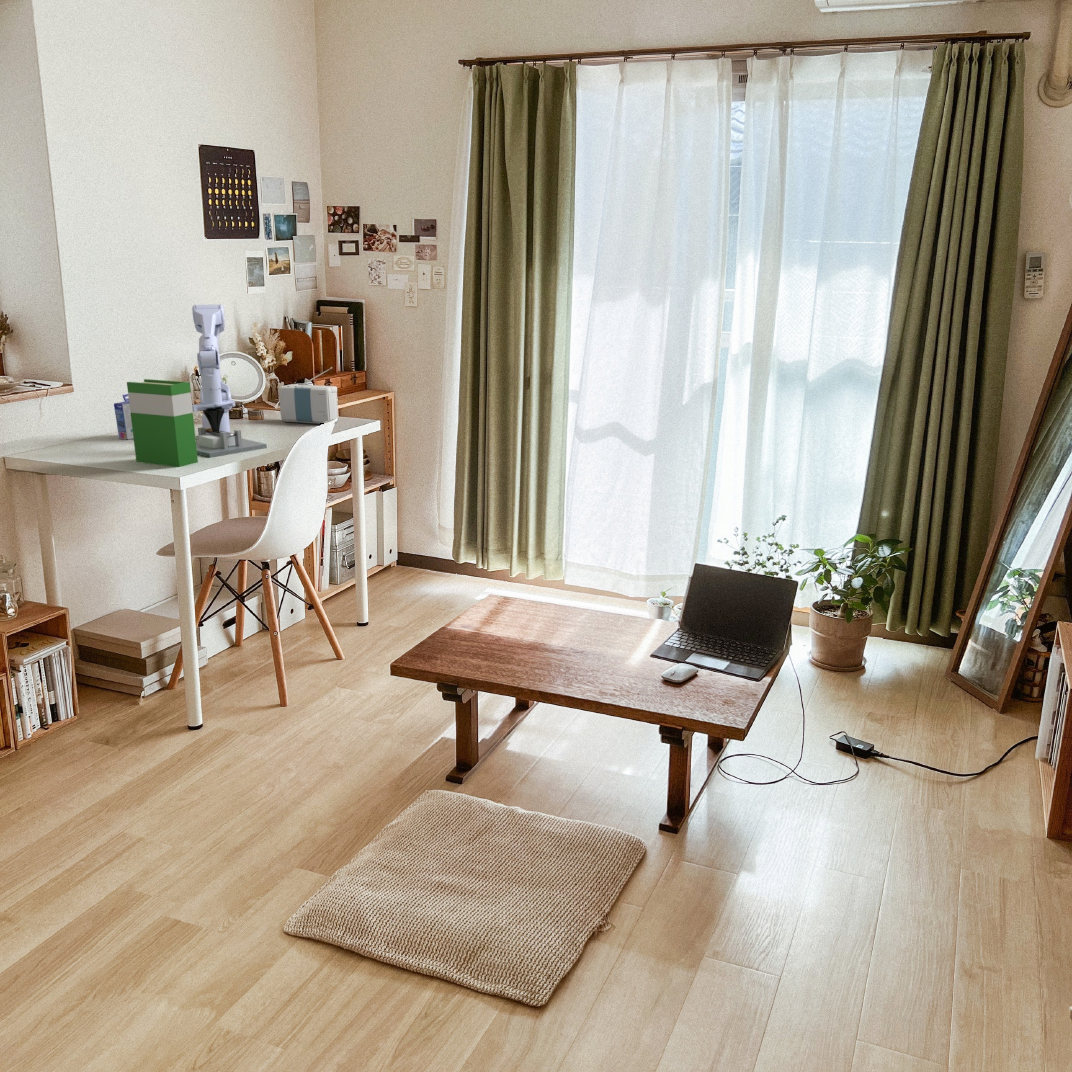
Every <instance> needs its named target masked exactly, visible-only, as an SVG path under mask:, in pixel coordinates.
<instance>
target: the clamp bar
mask: <svg viewBox="0 0 1072 1072" xmlns="http://www.w3.org/2000/svg"><path fill="white" fill-rule="evenodd" d="M205 430H206V433H211V434H216V435H220V432H225V431H220V430H219V431H218V432H214V431H212V429H211V428H205ZM230 432H231V431H230ZM230 432H226V433H227V437H233V436H236V433H234V432H232V433H230Z"/></svg>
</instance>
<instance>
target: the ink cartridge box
mask: <svg viewBox="0 0 1072 1072" xmlns="http://www.w3.org/2000/svg"><path fill="white" fill-rule="evenodd" d="M121 397H122V399H123V401H121V402H114V403H113V407H114V415H115V420H116V427H117V433H118V439H119V438H121V440H125V439H128V440H132V439H133V440H134V438H133V430H132V422H131V413H130V405H129V397H128V393H127V394H122V396H121ZM126 397H128V398H126Z"/></svg>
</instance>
